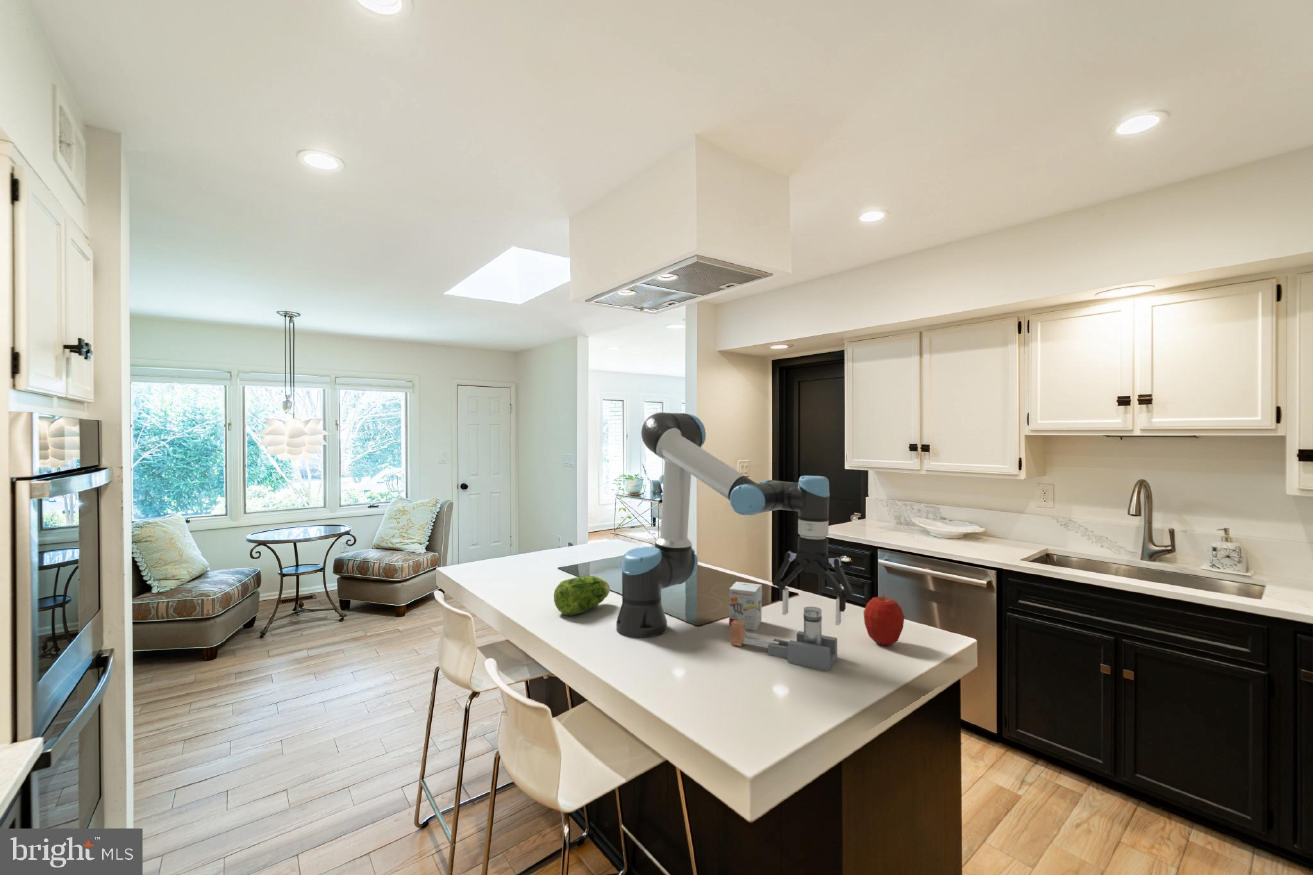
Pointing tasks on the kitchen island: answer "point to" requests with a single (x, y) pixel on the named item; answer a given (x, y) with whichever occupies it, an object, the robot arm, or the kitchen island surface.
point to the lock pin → (741, 639)
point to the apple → (883, 620)
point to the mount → (806, 652)
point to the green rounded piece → (580, 594)
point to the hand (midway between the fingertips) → (811, 618)
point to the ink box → (746, 604)
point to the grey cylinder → (812, 625)
